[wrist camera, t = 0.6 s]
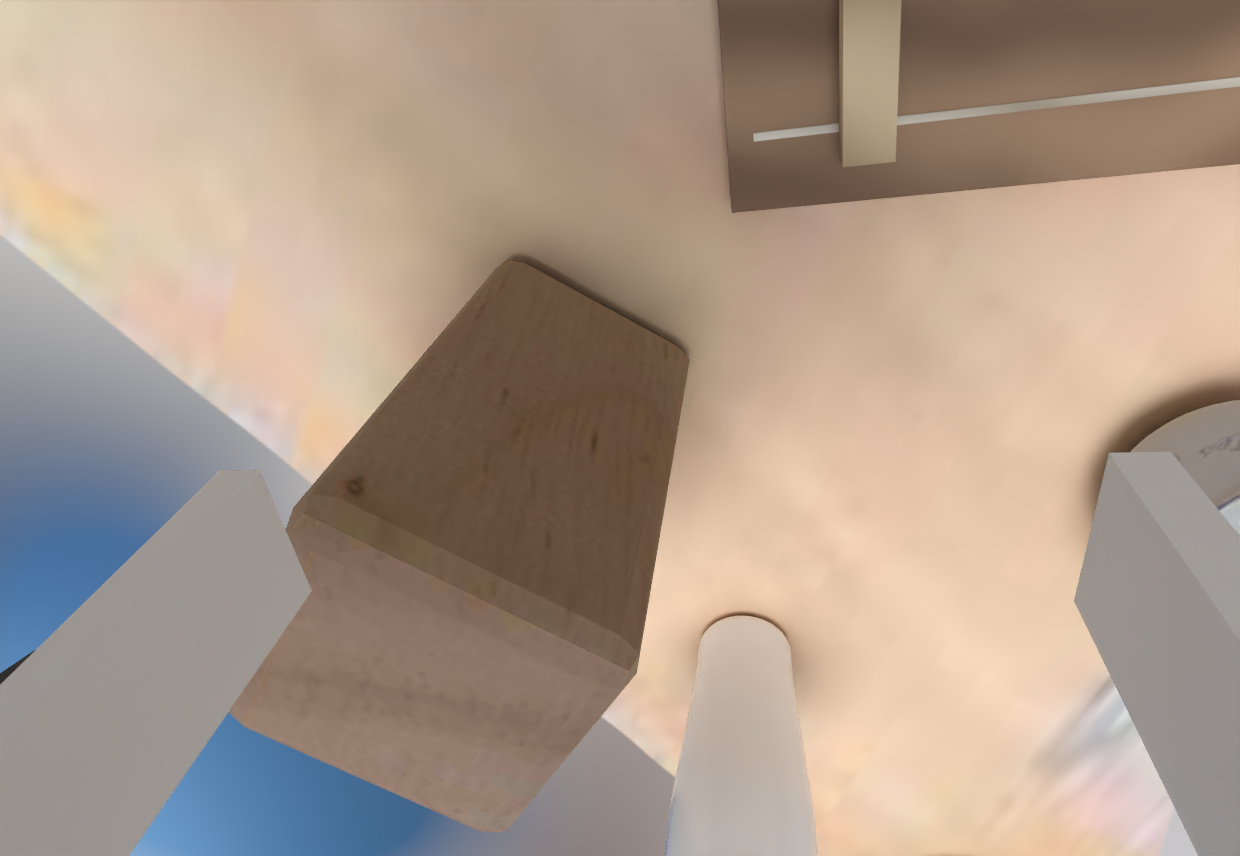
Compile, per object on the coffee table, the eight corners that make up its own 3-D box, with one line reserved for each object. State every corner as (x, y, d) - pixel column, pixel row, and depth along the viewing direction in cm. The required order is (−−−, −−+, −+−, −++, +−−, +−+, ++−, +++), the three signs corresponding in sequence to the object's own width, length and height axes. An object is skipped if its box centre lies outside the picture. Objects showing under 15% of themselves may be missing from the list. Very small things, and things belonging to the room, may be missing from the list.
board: (710, -148, 27) (707, -155, 25) (1468, -291, 23) (1529, -312, 21) (733, 199, 33) (731, 213, 31) (1337, 139, 29) (1376, 151, 27)
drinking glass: (710, 691, 48) (694, 952, 36) (670, 614, 46) (636, 866, 33) (818, 673, 46) (841, 943, 34) (782, 590, 43) (793, 850, 31)
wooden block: (509, 244, 35) (282, 504, 19) (699, 348, 37) (649, 681, 20) (436, 407, 41) (206, 726, 24) (604, 493, 42) (501, 856, 25)
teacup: (1205, 325, 33) (1322, 421, 26) (1410, 436, 34) (1575, 555, 27) (986, 546, 40) (1033, 666, 33) (1161, 632, 41) (1241, 764, 34)
